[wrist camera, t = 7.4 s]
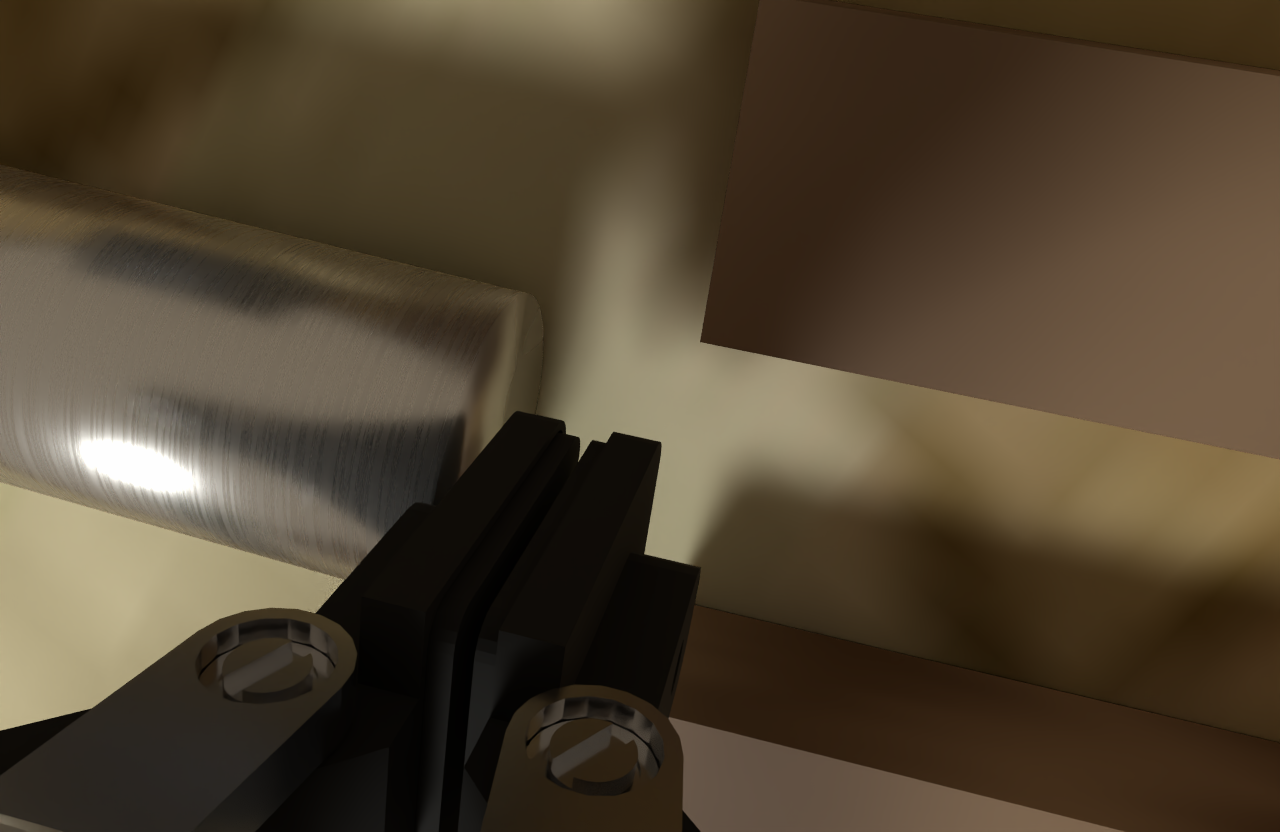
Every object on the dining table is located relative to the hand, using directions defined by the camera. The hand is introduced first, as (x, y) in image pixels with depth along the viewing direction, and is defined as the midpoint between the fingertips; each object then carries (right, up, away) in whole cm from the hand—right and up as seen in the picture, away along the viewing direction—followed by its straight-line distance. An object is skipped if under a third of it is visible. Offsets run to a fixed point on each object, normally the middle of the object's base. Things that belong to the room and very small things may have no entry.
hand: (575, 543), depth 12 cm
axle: (-6, +3, +4) cm, 7 cm away
